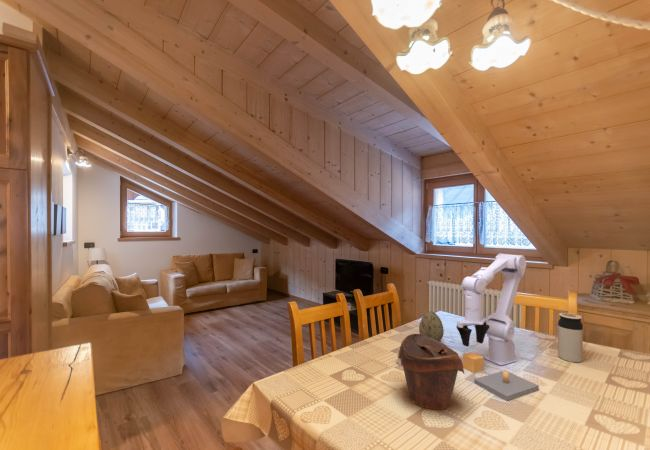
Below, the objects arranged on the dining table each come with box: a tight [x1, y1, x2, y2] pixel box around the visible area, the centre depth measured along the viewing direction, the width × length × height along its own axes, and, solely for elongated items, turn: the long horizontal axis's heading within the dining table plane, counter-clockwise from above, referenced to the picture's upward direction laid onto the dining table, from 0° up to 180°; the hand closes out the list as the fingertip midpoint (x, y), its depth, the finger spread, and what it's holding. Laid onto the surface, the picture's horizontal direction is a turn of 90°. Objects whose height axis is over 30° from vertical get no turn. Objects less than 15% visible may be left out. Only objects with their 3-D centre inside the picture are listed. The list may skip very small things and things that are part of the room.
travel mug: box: [557, 312, 584, 363], centre depth 129 cm, size 8×8×18 cm
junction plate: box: [473, 369, 540, 402], centre depth 106 cm, size 16×12×5 cm
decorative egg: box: [418, 310, 445, 342], centre depth 144 cm, size 11×11×15 cm
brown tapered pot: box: [397, 333, 465, 411], centre depth 98 cm, size 18×20×18 cm
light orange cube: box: [462, 351, 484, 374], centre depth 119 cm, size 5×5×5 cm
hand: (472, 344), depth 119 cm, fingers open, 7 cm apart
